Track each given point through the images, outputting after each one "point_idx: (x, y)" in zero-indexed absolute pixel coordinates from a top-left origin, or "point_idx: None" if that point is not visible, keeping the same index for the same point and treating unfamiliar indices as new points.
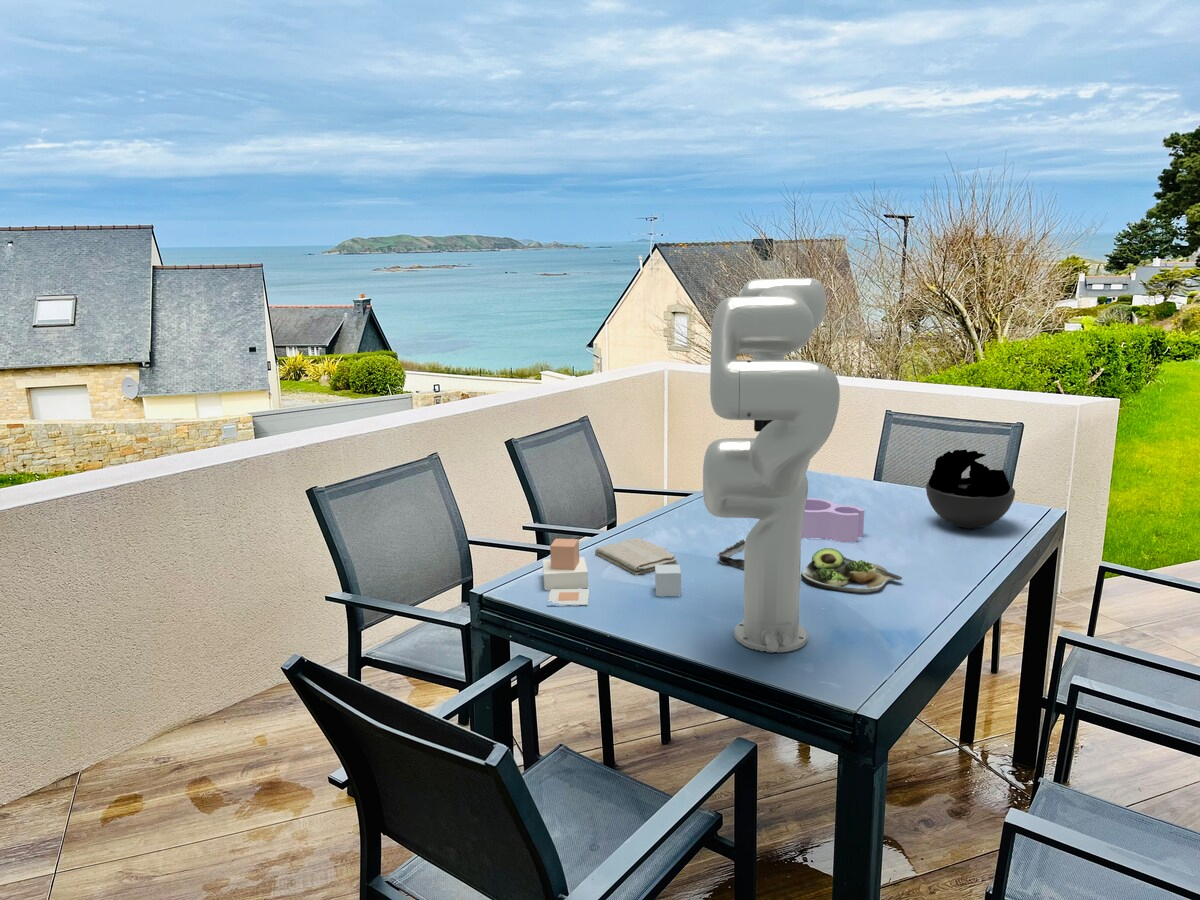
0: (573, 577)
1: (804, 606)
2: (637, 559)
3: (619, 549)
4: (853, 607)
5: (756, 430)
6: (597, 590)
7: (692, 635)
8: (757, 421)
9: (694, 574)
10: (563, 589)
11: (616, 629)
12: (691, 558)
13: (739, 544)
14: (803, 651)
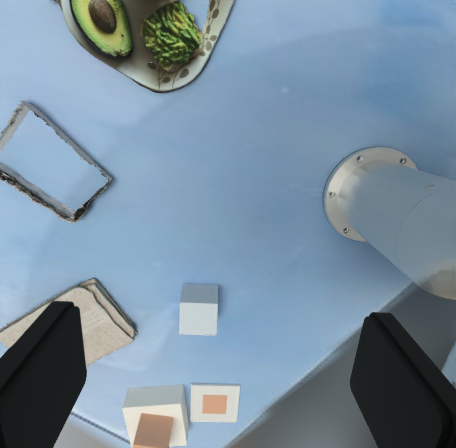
0: (183, 411)
1: (273, 119)
2: (104, 338)
3: None
4: (288, 34)
5: (84, 375)
6: (190, 375)
7: (341, 284)
8: (57, 422)
9: (132, 258)
10: (192, 409)
11: (309, 358)
12: (59, 254)
13: (5, 173)
14: (417, 162)
